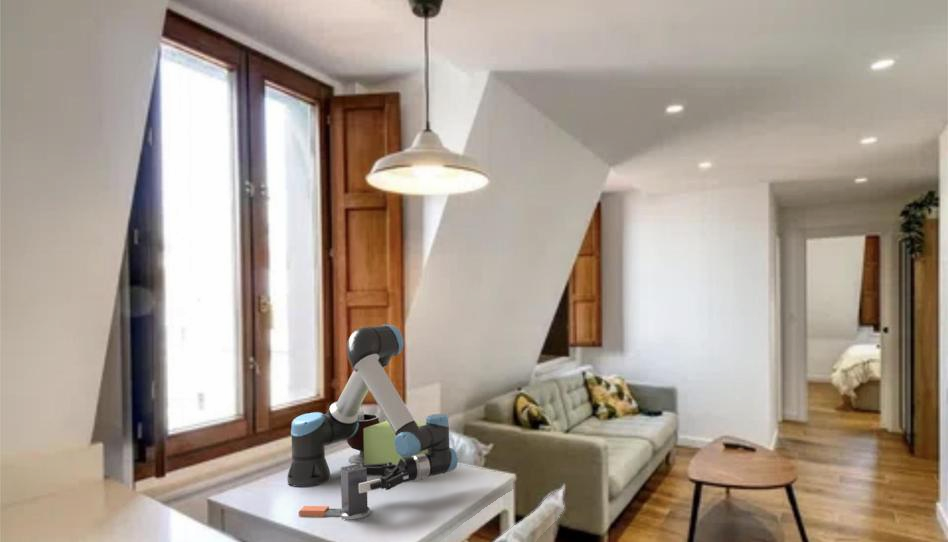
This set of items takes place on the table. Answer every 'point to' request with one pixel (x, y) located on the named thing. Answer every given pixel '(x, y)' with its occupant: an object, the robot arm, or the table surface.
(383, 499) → the table surface
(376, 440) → the container
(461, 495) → the table surface
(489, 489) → the table surface
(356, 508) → the dark grey block
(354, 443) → the mate gourd
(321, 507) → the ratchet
